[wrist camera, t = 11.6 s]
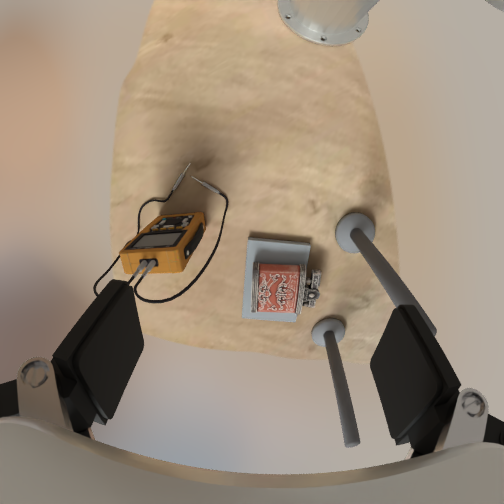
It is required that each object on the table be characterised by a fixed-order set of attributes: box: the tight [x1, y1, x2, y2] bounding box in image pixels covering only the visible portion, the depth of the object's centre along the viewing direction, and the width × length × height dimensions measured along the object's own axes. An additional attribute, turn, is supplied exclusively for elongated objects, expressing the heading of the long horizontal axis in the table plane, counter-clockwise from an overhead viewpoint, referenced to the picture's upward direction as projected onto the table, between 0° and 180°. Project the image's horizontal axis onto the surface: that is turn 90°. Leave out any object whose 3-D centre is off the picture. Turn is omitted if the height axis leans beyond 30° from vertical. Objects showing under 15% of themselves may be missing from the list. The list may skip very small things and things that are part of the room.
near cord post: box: [335, 213, 437, 337], centre depth 29 cm, size 6×6×23 cm
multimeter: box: [93, 164, 228, 303], centre depth 29 cm, size 15×10×20 cm
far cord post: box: [312, 318, 360, 447], centre depth 37 cm, size 6×6×23 cm
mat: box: [242, 237, 311, 322], centre depth 43 cm, size 14×9×1 cm, turn 175°
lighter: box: [251, 262, 321, 314], centre depth 40 cm, size 8×3×10 cm
